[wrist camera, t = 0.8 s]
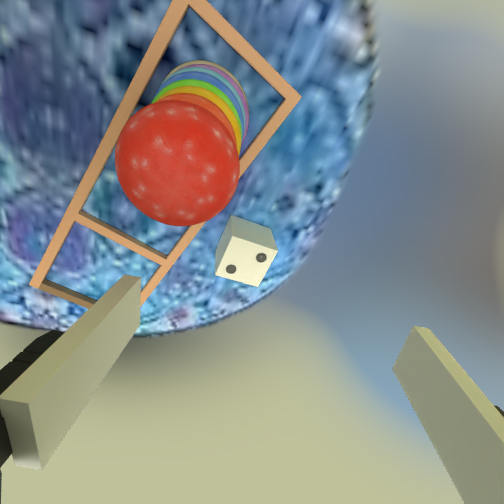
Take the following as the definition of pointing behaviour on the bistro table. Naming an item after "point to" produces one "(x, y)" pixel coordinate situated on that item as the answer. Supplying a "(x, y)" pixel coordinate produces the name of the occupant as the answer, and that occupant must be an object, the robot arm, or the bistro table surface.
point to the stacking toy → (185, 146)
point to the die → (244, 251)
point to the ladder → (122, 115)
